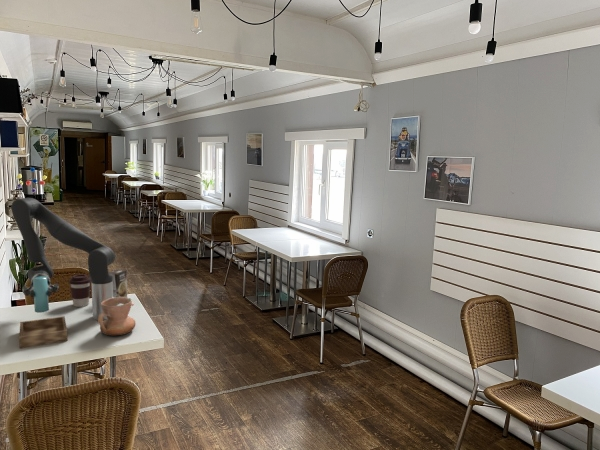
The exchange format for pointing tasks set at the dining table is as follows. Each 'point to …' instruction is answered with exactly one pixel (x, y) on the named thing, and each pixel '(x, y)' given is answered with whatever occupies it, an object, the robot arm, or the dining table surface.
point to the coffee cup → (80, 289)
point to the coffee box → (119, 283)
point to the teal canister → (40, 294)
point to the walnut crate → (42, 332)
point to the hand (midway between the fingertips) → (40, 294)
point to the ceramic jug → (116, 316)
